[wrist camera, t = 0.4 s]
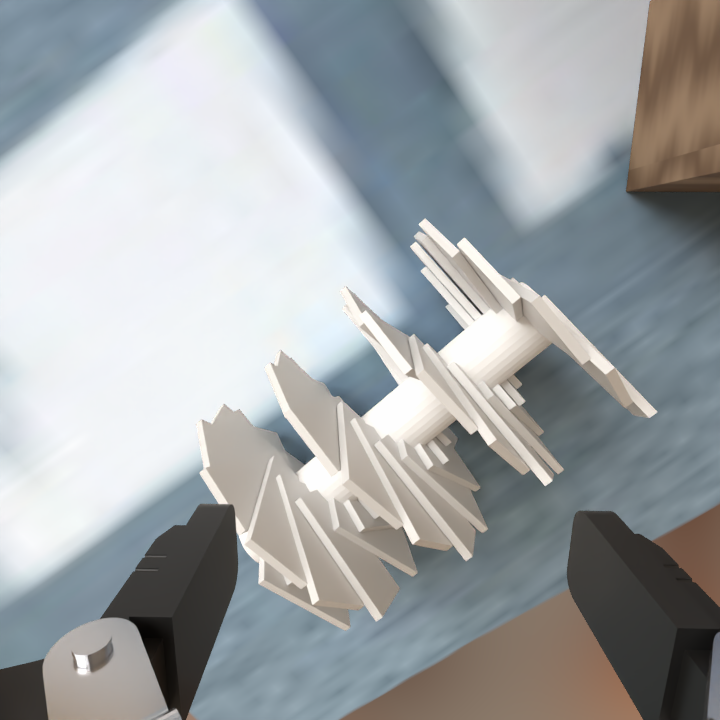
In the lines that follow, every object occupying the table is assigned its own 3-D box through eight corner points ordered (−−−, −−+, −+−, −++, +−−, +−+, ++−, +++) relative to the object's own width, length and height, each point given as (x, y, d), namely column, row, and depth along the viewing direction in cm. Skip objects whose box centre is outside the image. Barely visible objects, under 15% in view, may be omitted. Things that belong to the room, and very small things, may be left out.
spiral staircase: (257, 430, 45) (465, 244, 40) (370, 598, 41) (622, 412, 35) (90, 450, 28) (414, 130, 23) (251, 744, 23) (706, 427, 18)
